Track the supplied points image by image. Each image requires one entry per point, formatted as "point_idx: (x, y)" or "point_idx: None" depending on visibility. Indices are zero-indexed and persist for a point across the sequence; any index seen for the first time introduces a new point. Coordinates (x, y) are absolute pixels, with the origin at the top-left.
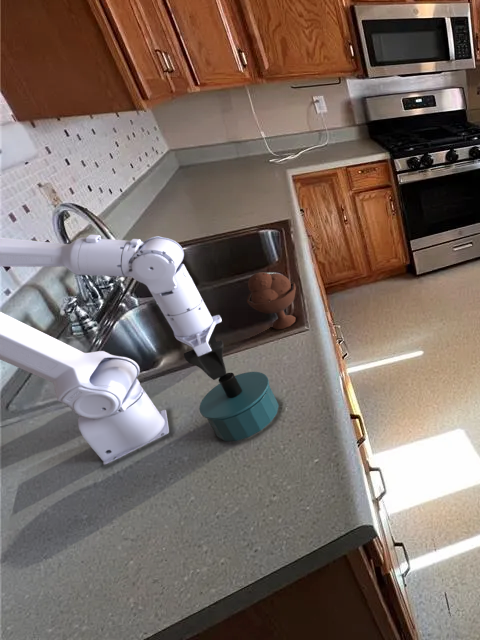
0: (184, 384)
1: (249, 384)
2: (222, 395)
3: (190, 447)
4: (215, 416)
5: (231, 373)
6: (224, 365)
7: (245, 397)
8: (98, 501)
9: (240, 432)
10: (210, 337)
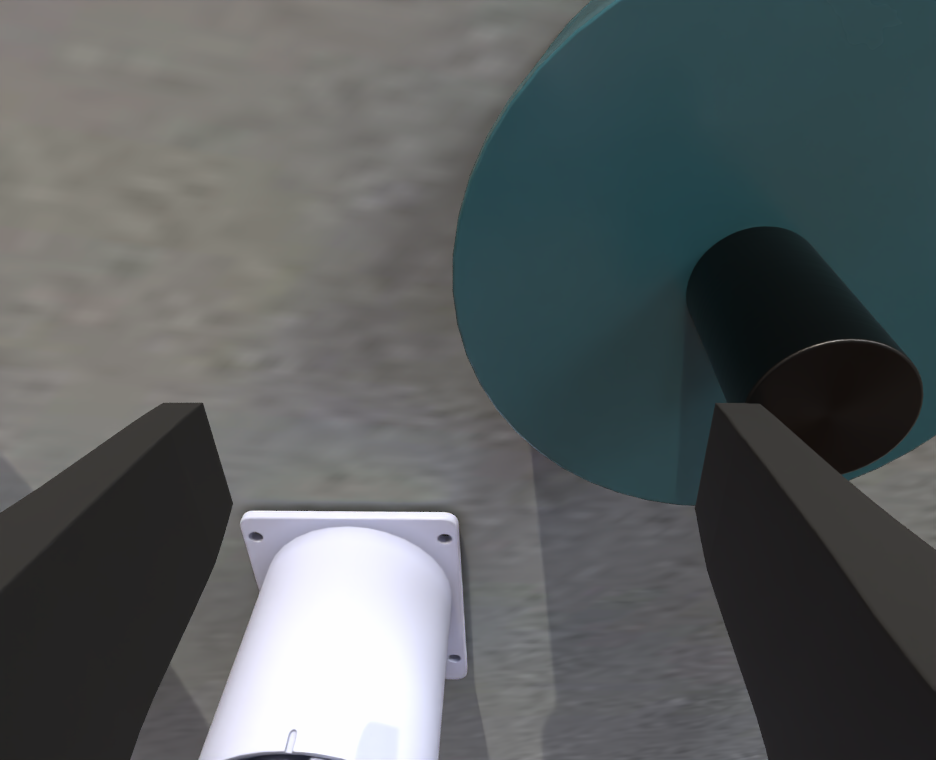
0: (37, 428)
1: (750, 147)
2: (678, 370)
3: None
4: (904, 442)
5: (815, 356)
6: (839, 476)
7: (931, 220)
8: (640, 680)
9: None
10: (39, 623)
